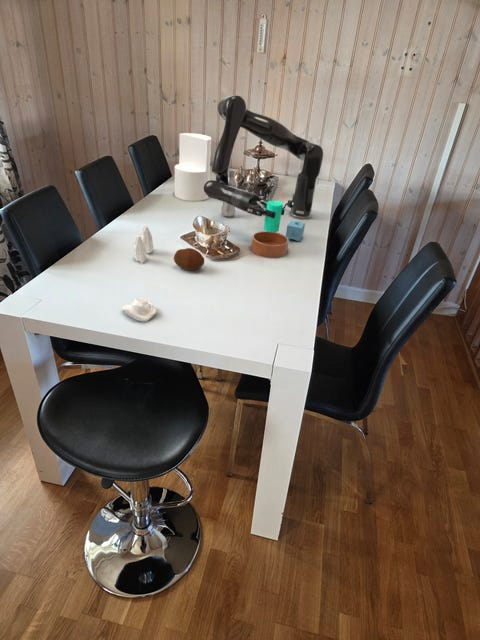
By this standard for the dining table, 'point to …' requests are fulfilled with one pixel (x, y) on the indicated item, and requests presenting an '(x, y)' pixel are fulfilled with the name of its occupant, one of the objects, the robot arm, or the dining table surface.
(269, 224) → the candle
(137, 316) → the rose
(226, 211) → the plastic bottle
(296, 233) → the teapot
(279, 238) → the pot
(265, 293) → the dining table surface
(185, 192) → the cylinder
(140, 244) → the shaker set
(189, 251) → the potato
